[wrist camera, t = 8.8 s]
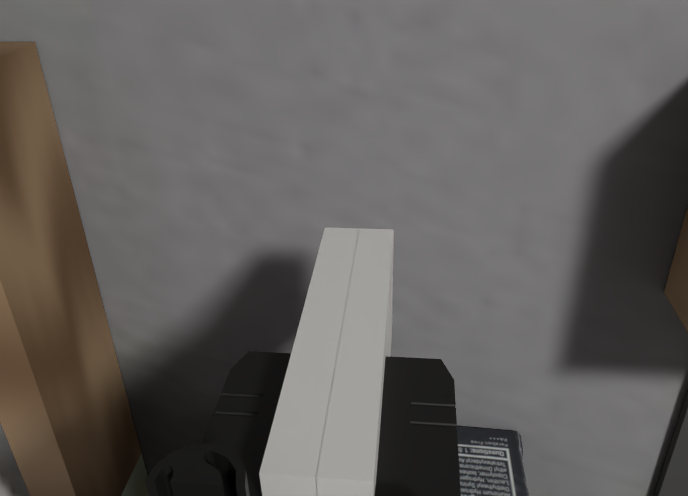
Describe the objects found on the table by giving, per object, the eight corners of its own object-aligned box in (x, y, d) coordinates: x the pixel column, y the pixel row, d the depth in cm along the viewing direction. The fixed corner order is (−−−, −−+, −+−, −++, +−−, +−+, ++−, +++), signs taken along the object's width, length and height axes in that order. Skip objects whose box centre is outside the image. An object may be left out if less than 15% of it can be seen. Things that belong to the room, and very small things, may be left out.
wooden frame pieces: (-21, 41, 16) (-136, 84, 13) (1498, 37, 13) (1882, 93, 10) (142, 579, 28) (103, 677, 24) (974, 649, 25) (1064, 775, 21)
